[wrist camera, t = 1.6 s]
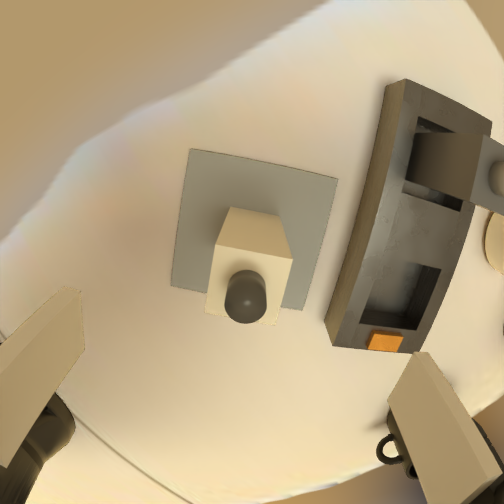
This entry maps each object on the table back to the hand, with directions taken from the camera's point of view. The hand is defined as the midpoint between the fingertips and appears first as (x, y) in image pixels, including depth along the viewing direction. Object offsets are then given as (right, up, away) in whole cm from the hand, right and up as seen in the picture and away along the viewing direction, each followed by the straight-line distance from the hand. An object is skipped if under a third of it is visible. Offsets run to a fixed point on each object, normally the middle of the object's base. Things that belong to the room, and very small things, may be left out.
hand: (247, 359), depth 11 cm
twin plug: (+15, +11, +12) cm, 22 cm away
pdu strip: (+14, +7, +15) cm, 21 cm away
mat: (0, +5, +15) cm, 16 cm away
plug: (0, +5, +15) cm, 16 cm away
